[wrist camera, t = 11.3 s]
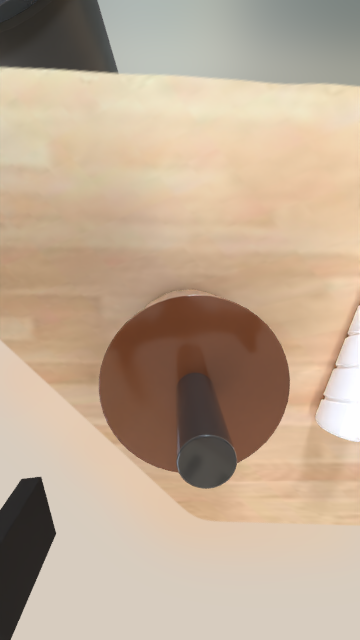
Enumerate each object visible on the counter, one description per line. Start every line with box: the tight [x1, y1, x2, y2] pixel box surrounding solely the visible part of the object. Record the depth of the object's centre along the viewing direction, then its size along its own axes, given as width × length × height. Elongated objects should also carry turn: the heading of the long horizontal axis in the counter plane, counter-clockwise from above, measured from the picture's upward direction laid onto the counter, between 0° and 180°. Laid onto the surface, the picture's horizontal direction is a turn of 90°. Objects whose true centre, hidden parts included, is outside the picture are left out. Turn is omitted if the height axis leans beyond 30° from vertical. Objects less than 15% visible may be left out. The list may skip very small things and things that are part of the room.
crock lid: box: [99, 294, 290, 488], centre depth 17 cm, size 14×14×9 cm
